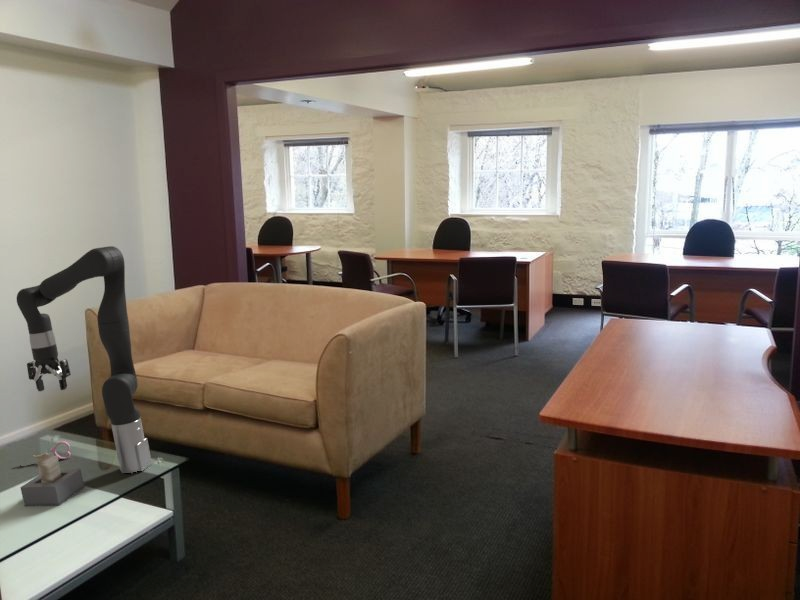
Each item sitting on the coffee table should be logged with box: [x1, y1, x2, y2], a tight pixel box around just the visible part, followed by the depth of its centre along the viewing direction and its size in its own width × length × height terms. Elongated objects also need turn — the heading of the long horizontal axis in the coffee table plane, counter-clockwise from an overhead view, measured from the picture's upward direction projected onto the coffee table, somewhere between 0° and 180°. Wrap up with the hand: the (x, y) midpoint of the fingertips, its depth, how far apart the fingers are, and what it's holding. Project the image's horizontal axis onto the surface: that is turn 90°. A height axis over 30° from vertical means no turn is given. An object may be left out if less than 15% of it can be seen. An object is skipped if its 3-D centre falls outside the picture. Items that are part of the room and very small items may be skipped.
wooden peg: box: [36, 455, 62, 483], centre depth 200 cm, size 4×4×12 cm
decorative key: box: [33, 440, 72, 460], centre depth 231 cm, size 7×1×20 cm
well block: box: [20, 468, 85, 507], centre depth 201 cm, size 12×12×6 cm
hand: (52, 390), depth 220 cm, fingers open, 8 cm apart
